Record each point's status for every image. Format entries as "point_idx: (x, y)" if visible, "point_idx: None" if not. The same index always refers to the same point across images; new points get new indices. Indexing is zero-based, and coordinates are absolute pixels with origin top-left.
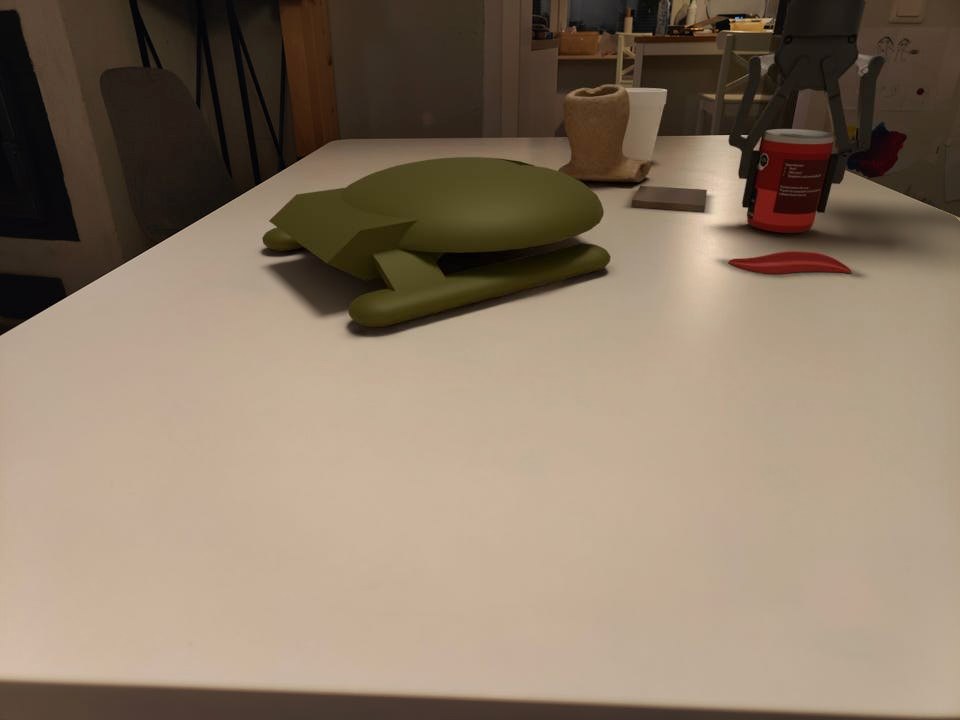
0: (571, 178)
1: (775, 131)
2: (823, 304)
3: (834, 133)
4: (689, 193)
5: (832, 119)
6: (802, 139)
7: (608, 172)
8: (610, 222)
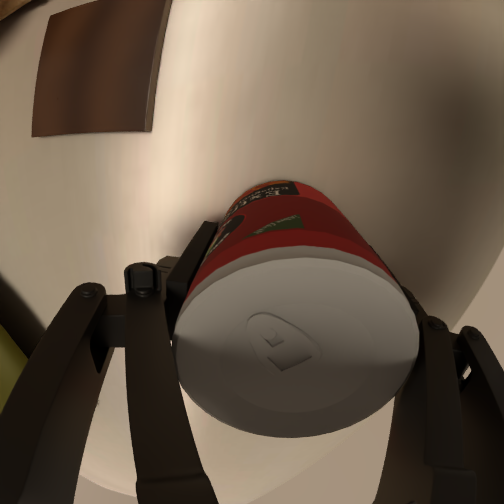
0: (8, 392)
1: (229, 302)
2: (261, 442)
3: (402, 392)
4: (124, 34)
5: (389, 441)
6: (280, 435)
7: (6, 8)
8: (34, 242)
